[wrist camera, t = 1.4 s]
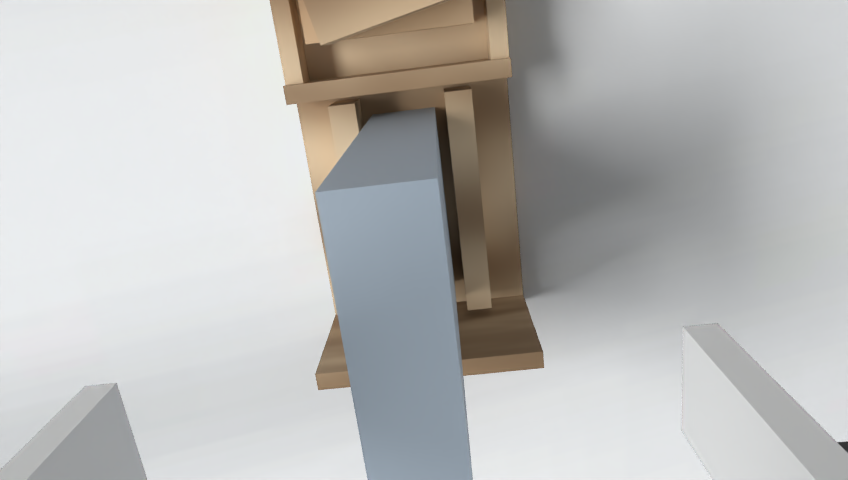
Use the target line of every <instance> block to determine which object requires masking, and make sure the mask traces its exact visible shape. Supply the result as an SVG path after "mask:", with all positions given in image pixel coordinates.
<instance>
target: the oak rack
mask: <svg viewBox="0 0 848 480" xmlns="http://www.w3.org/2000/svg"><path fill="white" fill-rule="evenodd" d="M270 5H271V10H272V15H273V21H274V26H275V31H276V36H277V42H278V47H279V52H280V58H281V63H282V68H283V74H284V79H285V84H286V86H283V88H284V94H285V99H286V104H287V105H289V104H297V107H298V113H299V118H300V123H301V129H302V134H303V140H304V145H305V150H306V156H307V161H308V167H309V172H310V178H311V183H312V188H313V194H314V199H315V205H316V210H317V216H318V221H319V226H320V232H321V237H322V243H323V248H324V253H325V259H326V264H327V270H328V275H329V281H330V286H331V291H332V297H333V302H334V308H335V313H336V315H335V318H334V321H333V324H332V327H331V330H330V333H329V336H328V339H327V342H326V345H325V348H324V350H323V353H322V356H321V359H320V362H319V365H318V368H317V371H316V374H315V375H316V380H317V385H318V390H324V389H334V388H344V387H351V386H350V380H349V375H348V369H347V364H346V358H345V353H344V348H343V342H342V337H341V331H340V326H339V320H338V315H337V309H336V304H335V299H334V293H333V288H332V282H331V277H330V271H329V266H328V260H327V255H326V250H325V244H324V239H323V233H322V228H321V222H320V217H319V211H318V206H317V201H316V195H315V192H316V190H317V189H318V188H319V186H320V185H321V184H322V182H323V181H324V180H325V178H326V177H327V175H328V174H329V173H330V171H331V170H332V169H333V167H334V166H335V165H336V163H337V162H338V161H339V159H340V158H341V157H342V155H343V154H344V152H345V151H346V150H347V148H348V147H349V146H350V144H351V143H352V142H353V140H354V139H355V138H356V136H357V135H358V134H359V132H360V131H361V129H362V128H363V127H364V125H365V124H366V123H367V121H368V120H369V119H370V117H371V116H372V115H373V114H382V113H390V112H398V111H406V110H415V109H423V108H431V107H435V113H436V121H437V130H438V139H439V148H440V157H441V166H442V174H443V183H444V192H445V201H446V210H447V219H448V228H449V236H450V245H451V254H452V263H453V272H454V281H455V292H456V303H457V313H458V324H459V335H460V346H461V357H462V368H463V376H466V375H476V374H486V373H496V372H506V371H517V370H527V369H537V368H544V360H543V350H542V348H541V345H540V342H539V339H538V336H537V333H536V330H535V327H534V325H533V322H532V319H531V316H530V313H529V310H528V307H527V305H526V302H525V299H524V296H523V286H522V273H521V259H520V246H519V232H518V219H517V206H516V192H515V179H514V165H513V152H512V138H511V125H510V111H509V98H508V84H507V78H509V77H512V69H511V58H509V46H508V32H507V18H506V5H505V0H472V5H473V16H474V23H472V24H466V25H458V26H451V27H443V28H435V29H427V30H419V31H412V32H404V33H396V34H388V35H380V36H373V37H365V38H357V39H349V40H341V41H339V42H336V43H333V44H330V45H320V43H317V44H305V38H304V33H303V27H302V21H301V16H300V10H299V4H298V0H270Z"/></svg>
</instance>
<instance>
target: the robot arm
mask: <svg viewBox="0 0 848 480" xmlns="http://www.w3.org/2000/svg"><path fill="white" fill-rule="evenodd" d="M681 431H682V433H683V434H684V436H685V437H686V439H687V441H688V442H689V444H690V445H691V447H692V448H693V450H694V452H695V453H696V455H697V456H698V458H699V459H700V461H701V463H702V464H703V466H704V467H705V469H706V471H707V472H708V474H709V475H710V477H711V478H712V480H848V442H836V441H835V440H834V439H833V438H832V437H831V436H830V435H829V434H828V433H827V432H826V431H825V430H824V429H823V428H822V427H821V426H820V425H819V424H818V423H817V422H816V421H815V420H814V419H813V418H812V417H811V416H810V415H809V414H808V413H807V412H806V411H805V410H804V409H803V408H802V407H801V406H800V405H799V404H798V403H797V402H796V401H795V400H794V399H793V398H792V397H791V396H790V395H789V394H788V393H787V392H786V391H785V390H784V389H783V388H782V387H781V386H780V385H779V384H778V383H777V382H776V381H775V380H774V379H773V378H772V377H771V376H770V375H769V374H768V373H767V372H766V371H765V370H764V369H763V368H762V367H761V366H760V365H759V364H758V363H757V362H756V361H755V360H754V359H753V358H752V357H751V356H750V355H749V354H748V353H747V352H746V351H745V350H744V349H743V348H742V347H741V346H740V345H739V344H738V343H737V342H736V341H735V340H734V339H733V338H732V337H731V336H730V335H729V334H728V333H727V332H726V331H725V330H724V329H723V328H722V327H721V326H720V325H719V324H718V323H714V324H704V325H694V326H684V327H683V351H682V426H681ZM0 480H147V477H146V474H145V471H144V468H143V465H142V462H141V458H140V455H139V452H138V449H137V446H136V443H135V439H134V436H133V433H132V430H131V427H130V424H129V421H128V417H127V414H126V411H125V408H124V405H123V402H122V398H121V395H120V392H119V389H118V386H117V383H110V384H100V385H90V386H85V387H84V388H83V389H82V390H81V391H80V392H79V393H78V394H77V395H76V396H75V397H74V398H73V399H72V400H71V401H70V402H68V403H67V404H66V405H65V406H64V407H63V408H62V409H61V410H60V411H59V412H58V413H57V414H56V415H55V416H54V417H53V418H52V419H51V420H50V421H49V422H48V423H47V424H46V425H45V426H44V427H43V428H42V429H41V430H40V431H39V432H38V433H37V434H36V435H35V436H34V437H33V438H32V439H31V440H30V441H29V442H28V443H27V444H26V445H25V446H24V447H23V448H22V449H21V450H20V451H19V452H18V453H17V454H16V455H15V456H14V457H13V458H12V459H11V460H10V461H9V462H8V463H7V464H6V465H5V466H4V467H3V468H2V469H1V470H0Z"/></svg>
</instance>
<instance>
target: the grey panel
mask: <svg viewBox="0 0 848 480" xmlns="http://www.w3.org/2000/svg"><path fill="white" fill-rule="evenodd" d="M315 195H316V201H317V206H318V211H319V217H320V222H321V228H322V233H323V239H324V244H325V250H326V255H327V260H328V266H329V271H330V277H331V282H332V288H333V293H334V299H335V304H336V309H337V315H338V320H339V326H340V331H341V337H342V342H343V348H344V353H345V358H346V364H347V369H348V375H349V380H350V386H351V391H352V397H353V402H354V408H355V413H356V418H357V424H358V429H359V435H360V440H361V446H362V451H363V457H364V462H365V467H366V473H367V478H368V480H473V478H472V467H471V456H470V445H469V434H468V423H467V412H466V401H465V390H464V379H463V368H462V357H461V346H460V335H459V324H458V313H457V303H456V292H455V281H454V272H453V263H452V254H451V245H450V236H449V228H448V219H447V210H446V201H445V192H444V183H443V174H442V166H441V157H440V148H439V139H438V130H437V121H436V113H435V107H431V108H423V109H415V110H406V111H398V112H390V113H382V114H373V115H372V116H371V117H370V119H369V120H368V121H367V123H366V124H365V125H364V127H363V128H362V129H361V131H360V132H359V134H358V135H357V136H356V138H355V139H354V140H353V142H352V143H351V144H350V146H349V147H348V148H347V150H346V151H345V152H344V154H343V155H342V157H341V158H340V159H339V161H338V162H337V163H336V165H335V166H334V167H333V169H332V170H331V171H330V173H329V174H328V175H327V177H326V178H325V180H324V181H323V182H322V184H321V185H320V186H319V188H318V189H317V190H316V192H315Z"/></svg>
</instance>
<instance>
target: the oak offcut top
mask: <svg viewBox="0 0 848 480" xmlns="http://www.w3.org/2000/svg"><path fill="white" fill-rule="evenodd" d="M303 1H304V4H305V6H306V9H307V12H308V14H309V17H310V19H311V22H312V25H313V27H314V30H315V33H316V35H317V38H318V41H319V43H320V45H330V44H333V43H336V42H339V41H341V40H344V39H347V38H350V37H352V36H355V35H358V34H361V33H363V32H366V31H369V30H371V29H374V28H377V27H380V26H382V25H385V24H388V23H391V22H393V21H396V20H399V19H401V18H404V17H407V16H410V15H412V14H415V13H418V12H421V11H423V10H426V9H429V8H432V7H434V6H437V5H440V4H442V3H445V2H448V1H451V0H303Z"/></svg>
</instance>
